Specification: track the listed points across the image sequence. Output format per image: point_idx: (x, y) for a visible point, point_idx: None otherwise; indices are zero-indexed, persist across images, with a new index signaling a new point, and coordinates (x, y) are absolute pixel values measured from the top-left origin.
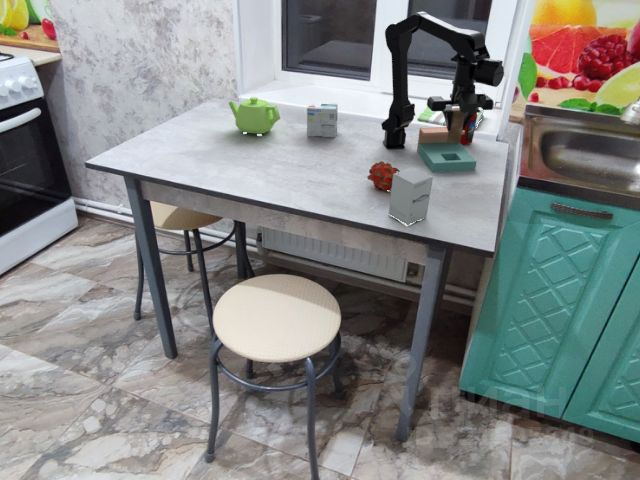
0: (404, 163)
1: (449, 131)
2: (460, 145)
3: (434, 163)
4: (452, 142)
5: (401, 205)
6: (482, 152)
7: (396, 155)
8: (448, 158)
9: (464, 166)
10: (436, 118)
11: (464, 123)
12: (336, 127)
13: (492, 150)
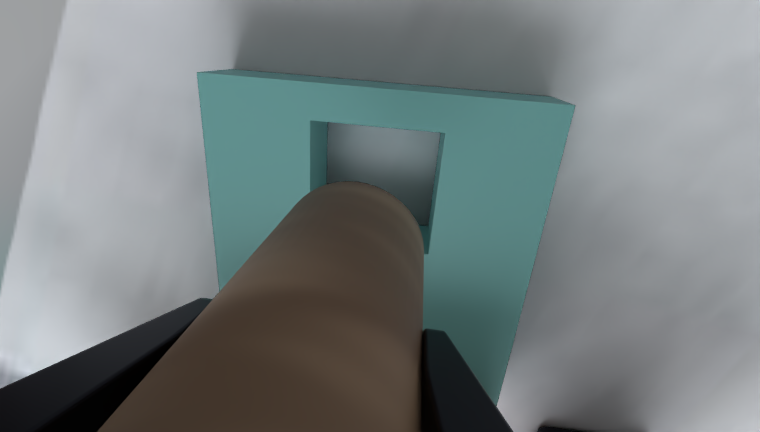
0: (662, 261)
1: (422, 326)
2: None
3: (565, 103)
4: (390, 200)
5: None
6: (121, 290)
7: (640, 365)
8: None
9: (303, 78)
10: None
11: (120, 378)
12: None
13: (61, 300)
